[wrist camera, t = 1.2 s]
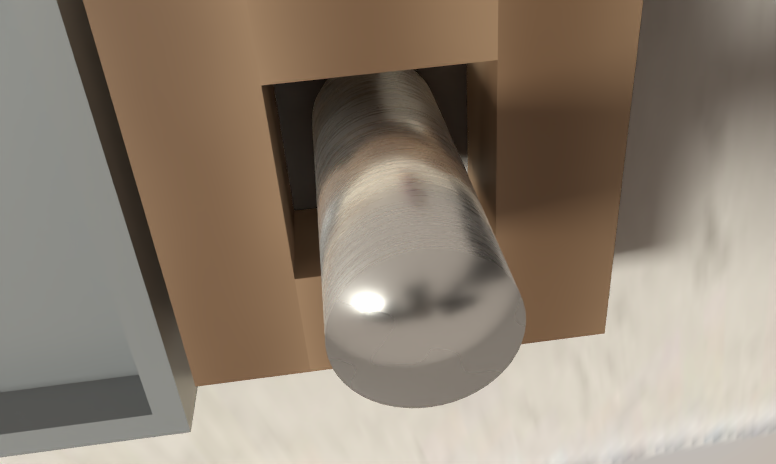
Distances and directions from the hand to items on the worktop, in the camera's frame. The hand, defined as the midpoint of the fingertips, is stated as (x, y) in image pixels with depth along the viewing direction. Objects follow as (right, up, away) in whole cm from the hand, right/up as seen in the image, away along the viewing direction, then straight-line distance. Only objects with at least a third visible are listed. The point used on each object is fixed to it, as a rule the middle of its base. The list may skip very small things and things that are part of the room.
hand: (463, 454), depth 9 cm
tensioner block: (-1, +5, +9) cm, 10 cm away
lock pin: (-1, +5, +9) cm, 10 cm away
